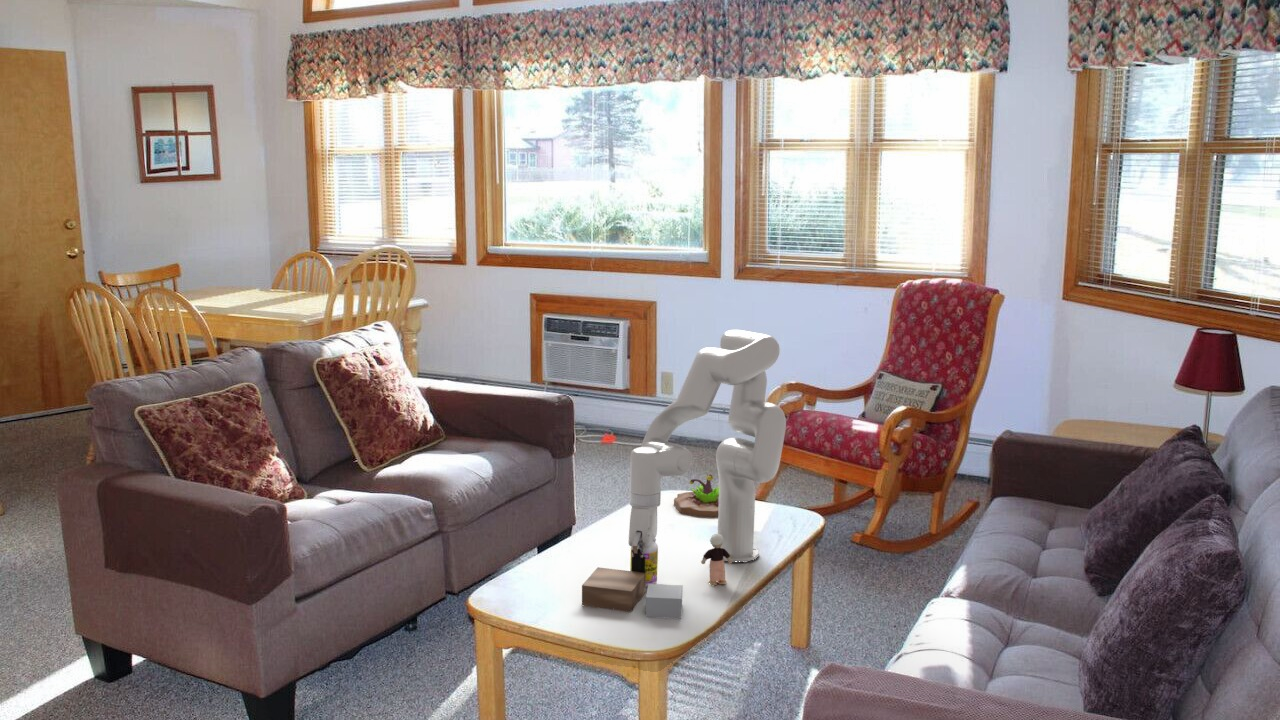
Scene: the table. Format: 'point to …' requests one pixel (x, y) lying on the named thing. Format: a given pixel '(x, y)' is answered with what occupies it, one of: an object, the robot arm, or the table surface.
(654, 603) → the grey block
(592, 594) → the walnut block
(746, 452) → the robot arm
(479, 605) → the table surface
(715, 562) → the grandmother figurine
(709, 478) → the plant
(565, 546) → the table surface
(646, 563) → the supplement bottle
